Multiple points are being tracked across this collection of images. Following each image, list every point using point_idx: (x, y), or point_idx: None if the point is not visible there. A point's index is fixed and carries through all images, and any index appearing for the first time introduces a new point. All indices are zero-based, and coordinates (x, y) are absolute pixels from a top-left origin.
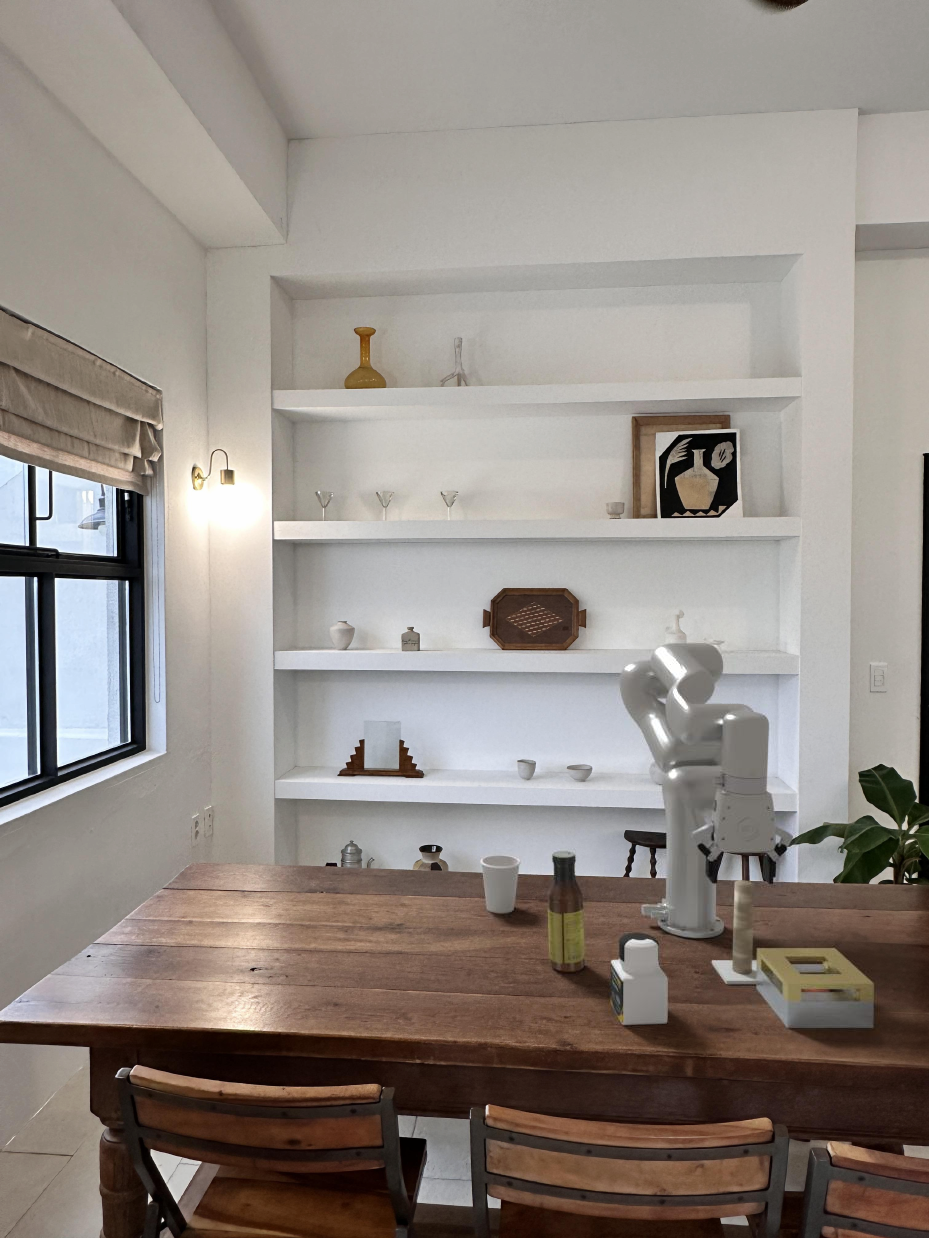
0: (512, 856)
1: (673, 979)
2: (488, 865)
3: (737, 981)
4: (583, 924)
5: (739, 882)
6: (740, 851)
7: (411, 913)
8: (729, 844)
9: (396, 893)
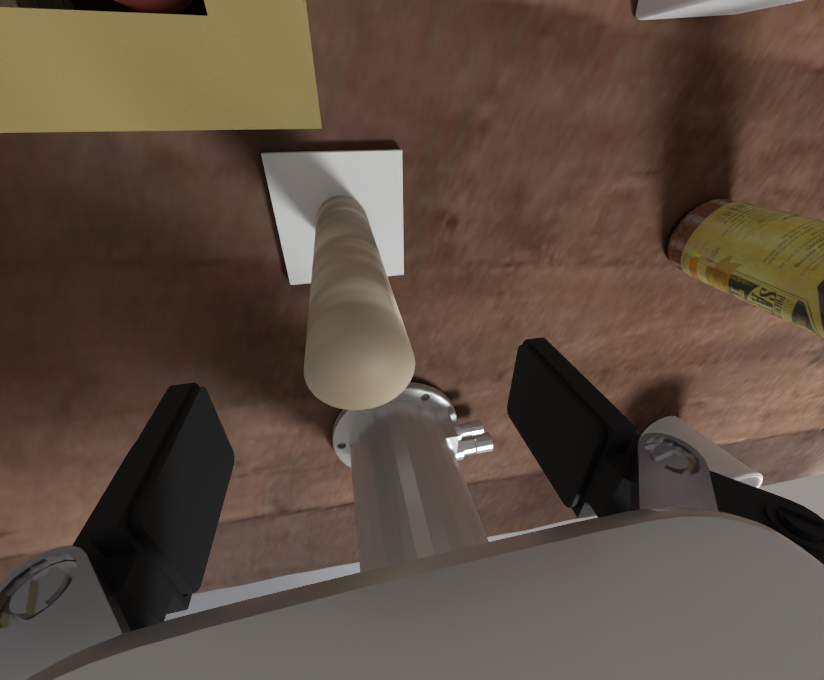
0: None
1: (521, 176)
2: (761, 476)
3: (370, 151)
4: (773, 259)
5: (384, 381)
6: (516, 548)
7: (776, 394)
8: (746, 627)
9: (750, 443)
